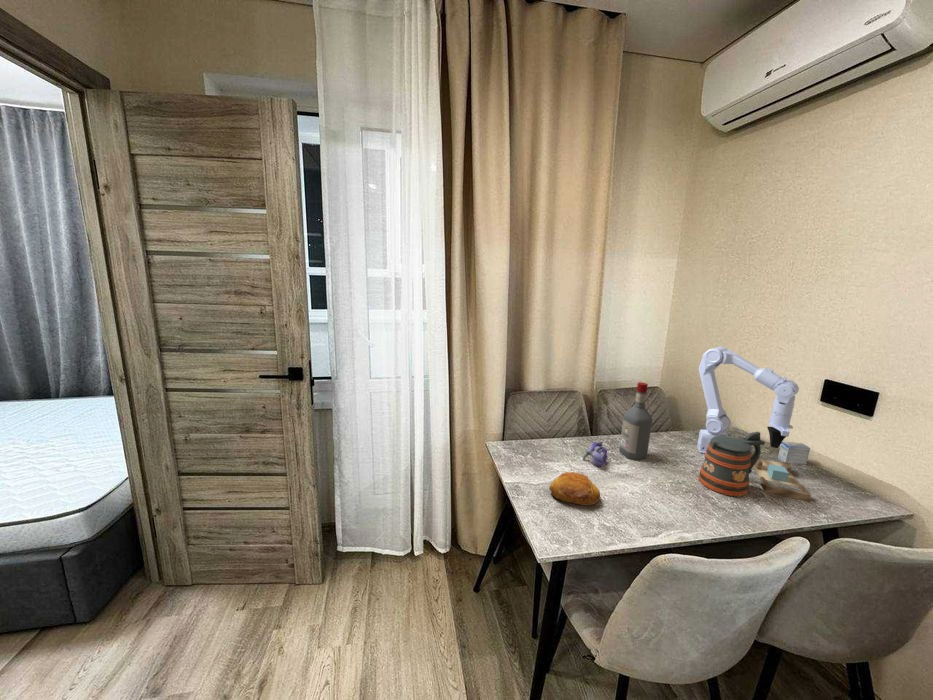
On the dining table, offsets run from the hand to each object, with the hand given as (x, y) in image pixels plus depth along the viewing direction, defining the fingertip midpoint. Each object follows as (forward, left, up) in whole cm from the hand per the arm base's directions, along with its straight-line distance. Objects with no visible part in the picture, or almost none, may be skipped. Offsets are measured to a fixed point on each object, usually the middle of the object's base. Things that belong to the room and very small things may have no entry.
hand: (774, 447), depth 145 cm
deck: (0, -6, -10) cm, 12 cm away
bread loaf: (-65, -50, -10) cm, 83 cm away
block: (0, -8, -8) cm, 12 cm away
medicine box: (+10, +11, -10) cm, 18 cm away
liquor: (-48, -10, -10) cm, 50 cm away
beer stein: (-17, -19, -10) cm, 27 cm away
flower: (-61, -25, -10) cm, 67 cm away
